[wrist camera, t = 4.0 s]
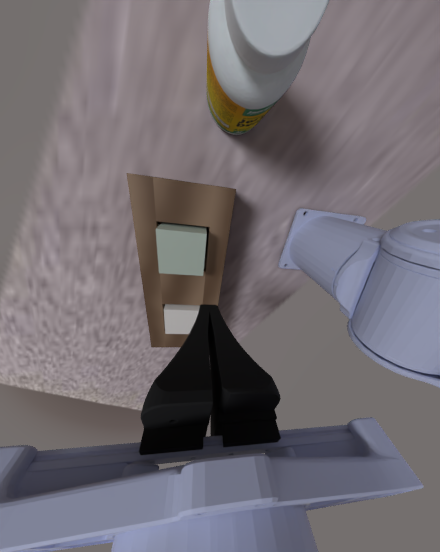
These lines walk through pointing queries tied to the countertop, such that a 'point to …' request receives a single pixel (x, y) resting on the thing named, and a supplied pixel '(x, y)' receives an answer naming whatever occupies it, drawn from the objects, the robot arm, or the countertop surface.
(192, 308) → the off white key
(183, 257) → the sage key
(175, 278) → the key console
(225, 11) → the supplement bottle
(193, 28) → the countertop surface
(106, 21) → the countertop surface
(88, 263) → the countertop surface
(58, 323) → the countertop surface
